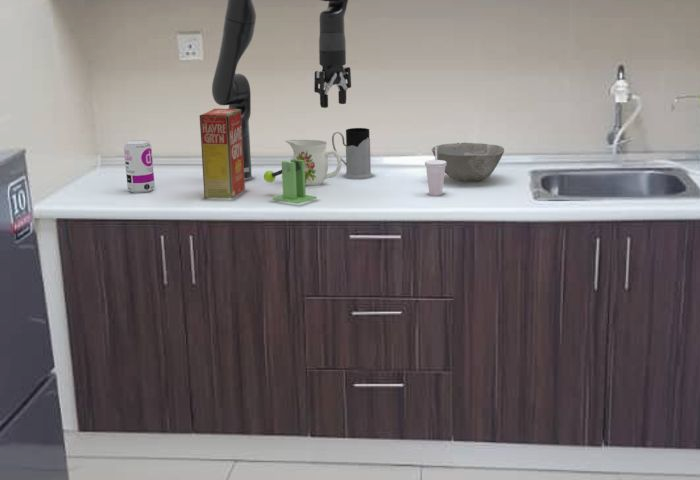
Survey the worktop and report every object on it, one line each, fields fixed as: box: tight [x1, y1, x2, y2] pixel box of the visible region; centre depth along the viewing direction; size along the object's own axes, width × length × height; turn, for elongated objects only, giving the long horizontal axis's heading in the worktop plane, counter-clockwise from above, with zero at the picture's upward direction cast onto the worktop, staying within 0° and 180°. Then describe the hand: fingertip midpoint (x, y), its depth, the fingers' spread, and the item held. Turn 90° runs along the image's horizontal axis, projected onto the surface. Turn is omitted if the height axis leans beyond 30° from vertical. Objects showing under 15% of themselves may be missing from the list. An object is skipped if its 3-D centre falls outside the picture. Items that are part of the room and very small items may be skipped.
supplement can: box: [123, 139, 156, 194], centre depth 301 cm, size 8×8×15 cm
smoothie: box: [424, 146, 446, 197], centre depth 289 cm, size 6×6×14 cm
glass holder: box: [331, 127, 373, 180], centre depth 317 cm, size 9×14×15 cm, turn 58°
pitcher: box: [284, 139, 342, 186], centre depth 304 cm, size 11×18×14 cm, turn 74°
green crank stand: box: [272, 158, 317, 205], centre depth 284 cm, size 10×8×12 cm
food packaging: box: [199, 108, 246, 199], centre depth 291 cm, size 13×9×25 cm
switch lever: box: [263, 161, 300, 183], centre depth 286 cm, size 13×3×3 cm, turn 53°
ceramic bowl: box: [431, 142, 505, 183], centre depth 308 cm, size 22×23×10 cm
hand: (333, 105), depth 284 cm, fingers open, 8 cm apart
